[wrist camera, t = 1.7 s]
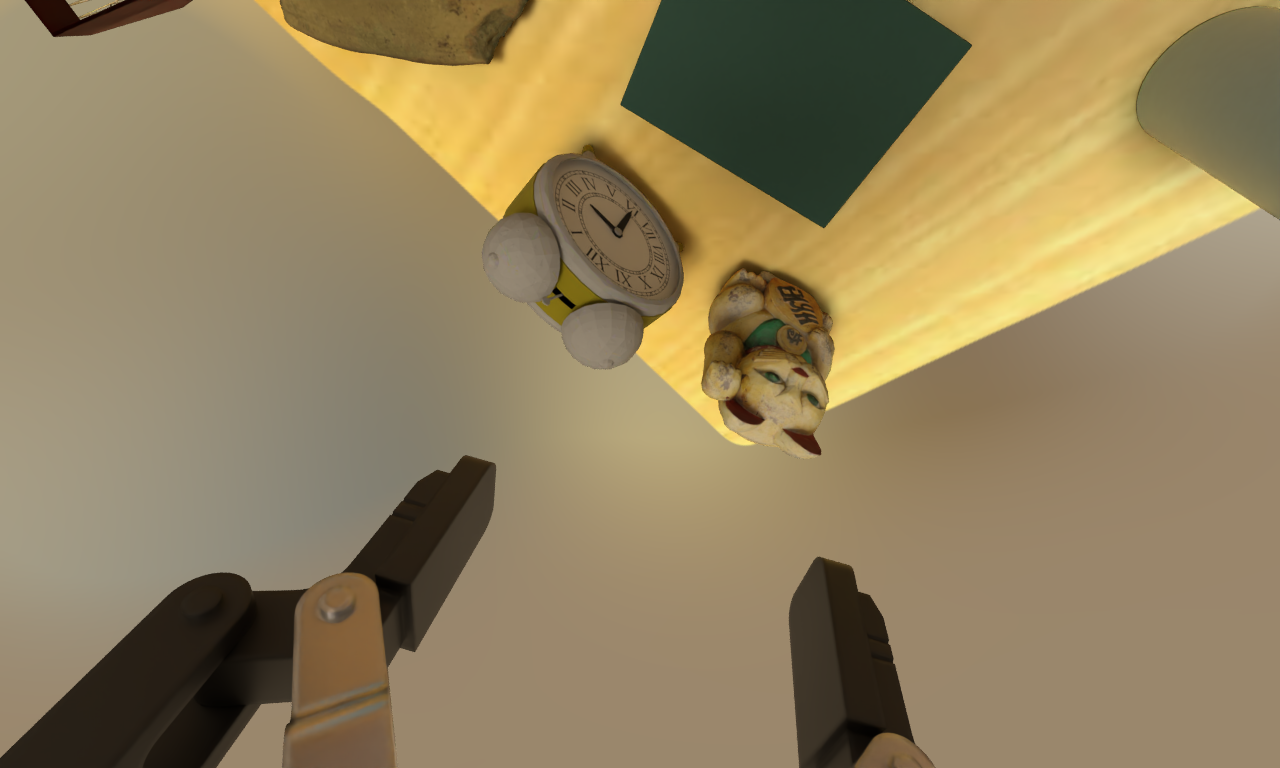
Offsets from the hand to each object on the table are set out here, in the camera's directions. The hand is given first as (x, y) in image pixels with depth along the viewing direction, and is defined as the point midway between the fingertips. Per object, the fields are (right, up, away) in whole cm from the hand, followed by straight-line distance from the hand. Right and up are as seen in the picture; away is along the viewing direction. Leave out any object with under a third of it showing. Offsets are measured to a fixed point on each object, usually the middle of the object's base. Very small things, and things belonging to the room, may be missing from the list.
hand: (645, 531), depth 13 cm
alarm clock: (-2, +17, +27) cm, 32 cm away
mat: (+8, +22, +18) cm, 30 cm away
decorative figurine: (+10, +9, +29) cm, 32 cm away
